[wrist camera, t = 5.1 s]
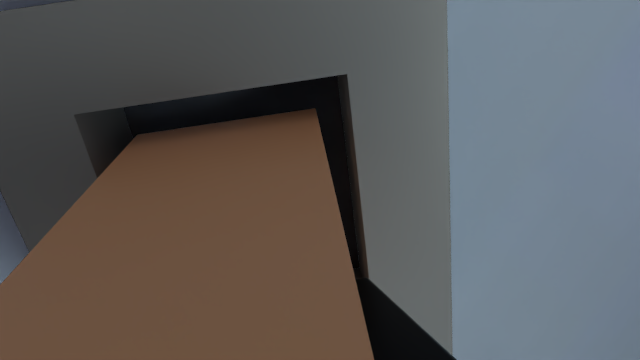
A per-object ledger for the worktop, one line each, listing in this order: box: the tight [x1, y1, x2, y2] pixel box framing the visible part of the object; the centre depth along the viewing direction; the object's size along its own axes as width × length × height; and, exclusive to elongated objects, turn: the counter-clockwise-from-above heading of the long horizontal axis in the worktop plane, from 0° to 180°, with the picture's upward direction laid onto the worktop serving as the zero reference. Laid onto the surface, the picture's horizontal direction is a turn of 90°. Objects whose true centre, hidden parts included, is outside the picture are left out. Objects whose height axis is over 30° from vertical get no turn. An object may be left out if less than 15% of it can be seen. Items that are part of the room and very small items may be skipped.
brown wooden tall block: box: [0, 108, 374, 360], centre depth 7 cm, size 4×5×9 cm
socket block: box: [0, 0, 452, 355], centre depth 11 cm, size 9×10×2 cm
